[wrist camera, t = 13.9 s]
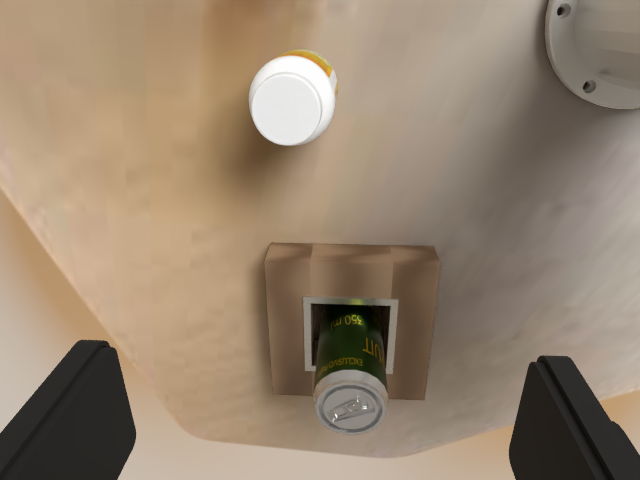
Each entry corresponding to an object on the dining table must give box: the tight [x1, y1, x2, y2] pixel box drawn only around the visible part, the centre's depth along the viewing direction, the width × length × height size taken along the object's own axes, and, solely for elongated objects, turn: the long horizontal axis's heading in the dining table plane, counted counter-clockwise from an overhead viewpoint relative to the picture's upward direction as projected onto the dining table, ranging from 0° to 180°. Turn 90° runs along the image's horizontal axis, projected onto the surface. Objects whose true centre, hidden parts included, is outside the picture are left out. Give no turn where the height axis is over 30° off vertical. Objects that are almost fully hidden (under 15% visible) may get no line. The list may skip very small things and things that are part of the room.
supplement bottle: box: [249, 49, 338, 146], centre depth 31 cm, size 5×5×10 cm
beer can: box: [313, 304, 388, 435], centre depth 38 cm, size 5×5×12 cm
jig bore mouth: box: [303, 296, 399, 374], centre depth 40 cm, size 8×8×1 cm
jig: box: [264, 243, 441, 400], centre depth 42 cm, size 14×14×4 cm
